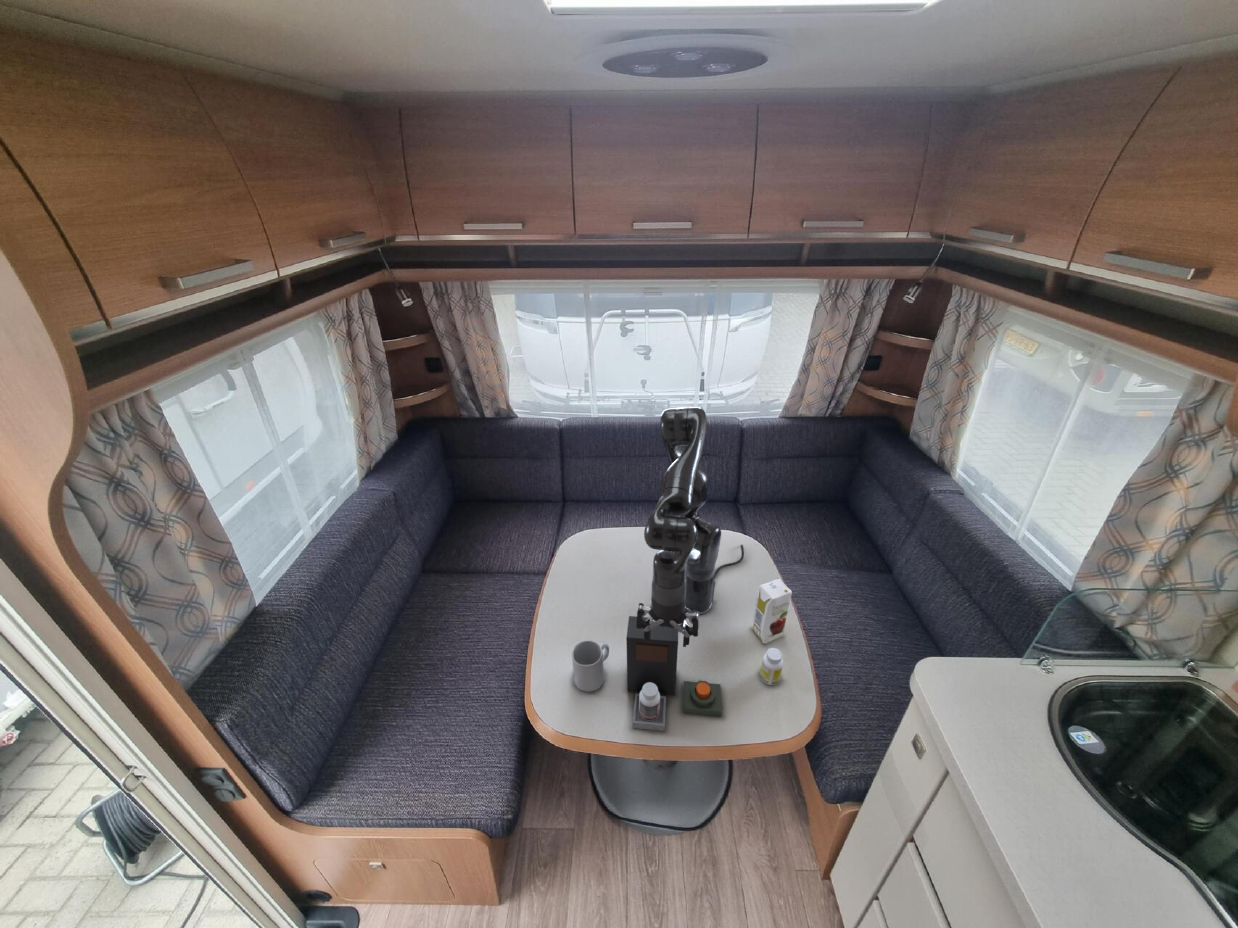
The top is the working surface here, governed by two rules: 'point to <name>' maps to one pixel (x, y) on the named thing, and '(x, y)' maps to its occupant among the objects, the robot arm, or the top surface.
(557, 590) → the top surface
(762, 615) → the juice carton
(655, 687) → the pill bottle
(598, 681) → the mug
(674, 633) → the coffee maker
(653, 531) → the robot arm
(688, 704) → the button block
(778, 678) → the supplement bottle
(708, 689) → the button
